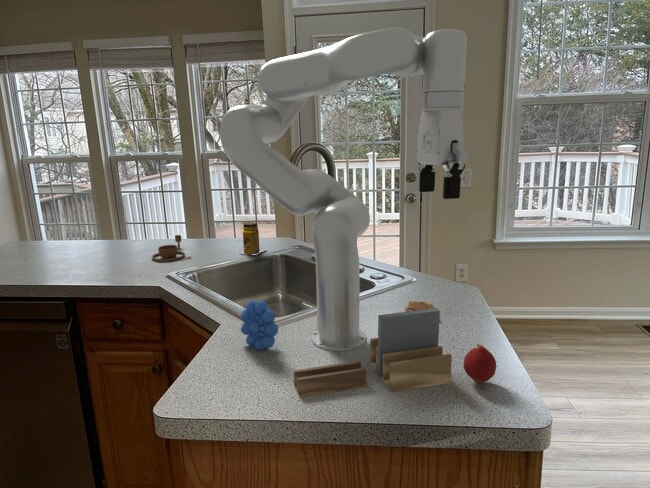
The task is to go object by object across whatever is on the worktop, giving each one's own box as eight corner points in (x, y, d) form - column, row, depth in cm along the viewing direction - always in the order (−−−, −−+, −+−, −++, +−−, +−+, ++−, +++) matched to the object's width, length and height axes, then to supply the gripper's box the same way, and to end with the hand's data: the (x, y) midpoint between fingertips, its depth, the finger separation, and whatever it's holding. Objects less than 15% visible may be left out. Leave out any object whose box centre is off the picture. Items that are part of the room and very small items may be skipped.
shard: (438, 324, 115) (439, 317, 115) (407, 323, 116) (407, 316, 115) (432, 307, 126) (432, 301, 125) (403, 307, 126) (403, 300, 126)
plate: (377, 372, 90) (378, 315, 87) (433, 363, 93) (436, 308, 90) (380, 376, 89) (381, 318, 86) (437, 367, 92) (439, 310, 89)
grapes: (292, 352, 101) (290, 300, 98) (269, 363, 96) (266, 309, 93) (258, 336, 109) (255, 288, 106) (235, 346, 104) (231, 296, 101)
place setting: (139, 260, 175) (137, 245, 174) (178, 248, 192) (176, 234, 191) (174, 266, 167) (172, 250, 166) (211, 252, 184) (210, 238, 183)
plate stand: (292, 384, 88) (292, 367, 87) (357, 374, 92) (357, 357, 91) (299, 401, 83) (298, 383, 82) (368, 390, 86) (368, 372, 85)
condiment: (239, 254, 179) (237, 224, 176) (252, 249, 186) (250, 220, 183) (254, 256, 176) (253, 225, 173) (267, 251, 183) (266, 221, 180)
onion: (487, 374, 91) (491, 336, 89) (499, 390, 85) (503, 351, 83) (458, 375, 91) (461, 337, 89) (468, 391, 85) (471, 351, 83)
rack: (369, 364, 95) (369, 337, 94) (422, 356, 98) (423, 330, 97) (392, 396, 84) (392, 366, 82) (451, 386, 87) (453, 357, 85)
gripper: (404, 105, 93) (402, 190, 97) (447, 100, 77) (442, 202, 81) (438, 105, 95) (434, 188, 99) (487, 100, 79) (480, 200, 83)
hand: (438, 194), depth 90 cm, fingers open, 9 cm apart
